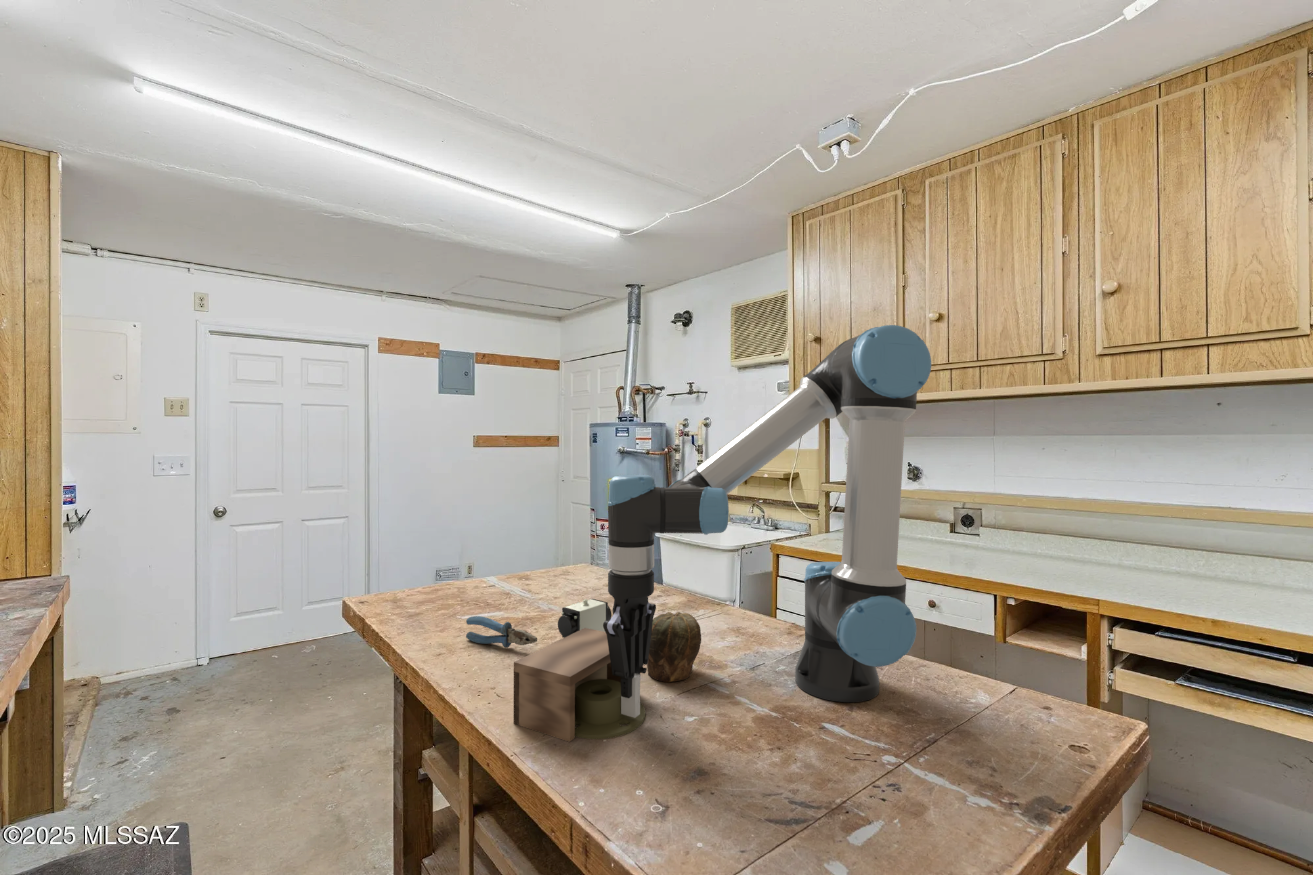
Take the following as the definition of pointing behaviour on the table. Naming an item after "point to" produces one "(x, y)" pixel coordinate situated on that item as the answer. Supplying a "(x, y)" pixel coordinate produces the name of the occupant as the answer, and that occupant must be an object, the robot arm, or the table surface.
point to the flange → (602, 711)
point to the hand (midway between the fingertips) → (630, 713)
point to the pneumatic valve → (584, 616)
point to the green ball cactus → (673, 646)
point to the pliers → (506, 630)
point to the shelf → (558, 681)
